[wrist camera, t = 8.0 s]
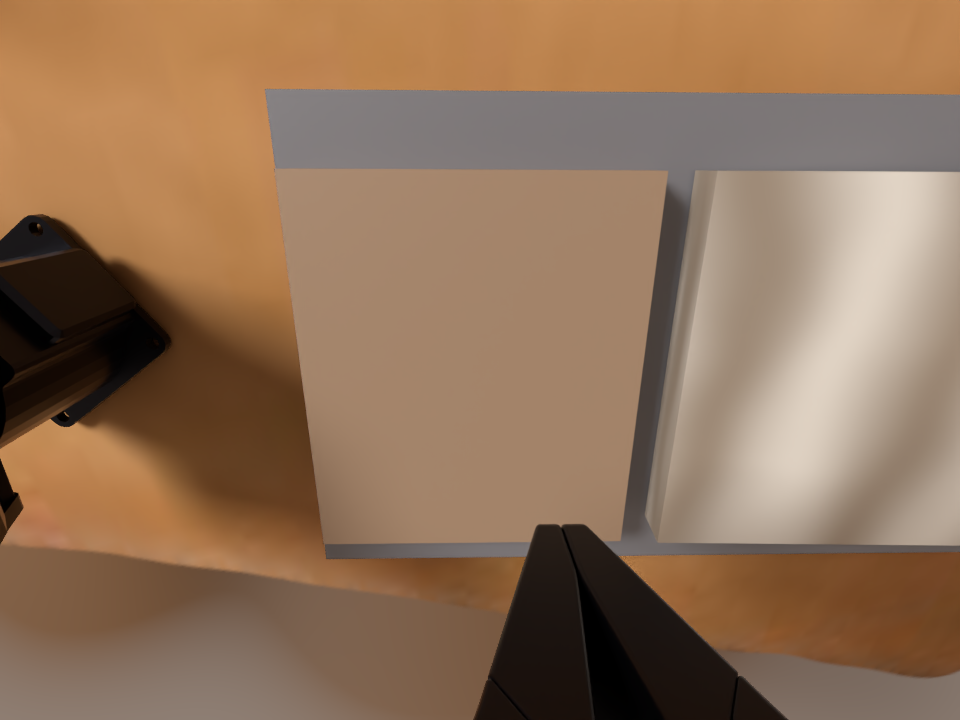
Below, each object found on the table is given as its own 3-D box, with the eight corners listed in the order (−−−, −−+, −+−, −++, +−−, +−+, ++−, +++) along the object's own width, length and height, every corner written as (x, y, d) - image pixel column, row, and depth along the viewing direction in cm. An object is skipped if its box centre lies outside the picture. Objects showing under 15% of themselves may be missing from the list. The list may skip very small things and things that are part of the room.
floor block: (351, 489, 24) (315, 589, 18) (312, 106, 18) (241, 80, 12) (920, 484, 24) (1056, 580, 19) (1059, 112, 18) (1316, 89, 13)
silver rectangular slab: (644, 514, 19) (657, 542, 17) (695, 170, 15) (717, 170, 13) (1022, 518, 19) (1066, 546, 17) (1186, 172, 14) (1262, 173, 13)
